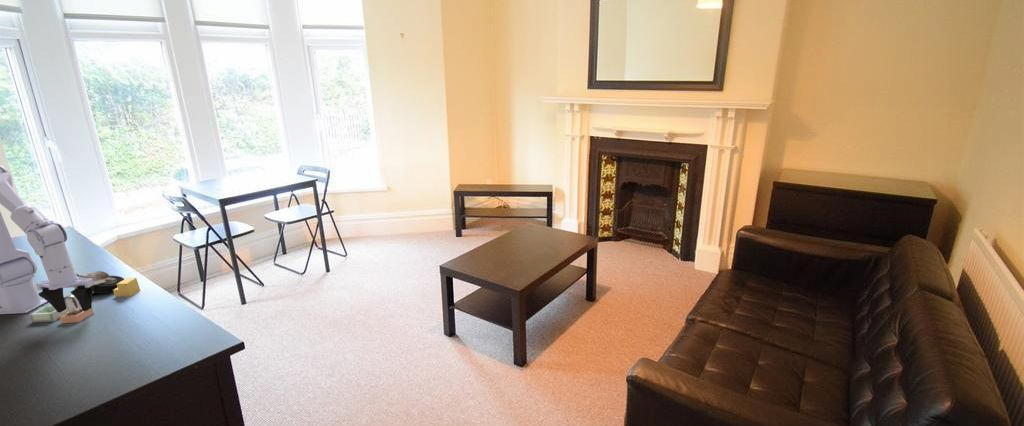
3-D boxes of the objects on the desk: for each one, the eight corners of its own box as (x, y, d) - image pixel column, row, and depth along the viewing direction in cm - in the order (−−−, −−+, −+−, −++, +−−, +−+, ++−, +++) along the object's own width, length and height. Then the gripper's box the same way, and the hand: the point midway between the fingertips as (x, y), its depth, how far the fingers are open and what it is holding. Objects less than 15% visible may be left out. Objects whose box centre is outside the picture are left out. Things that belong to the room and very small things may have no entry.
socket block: (61, 323, 135) (59, 316, 134) (77, 314, 139) (74, 308, 139) (79, 322, 134) (76, 316, 134) (93, 313, 139) (91, 307, 139)
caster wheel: (130, 293, 157) (95, 303, 148) (107, 283, 160) (72, 292, 151) (130, 275, 155) (95, 284, 146) (107, 264, 159) (71, 273, 149)
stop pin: (69, 320, 136) (61, 298, 134) (77, 316, 138) (69, 294, 136) (78, 320, 136) (70, 298, 133) (86, 315, 138) (78, 294, 136)
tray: (32, 322, 136) (29, 314, 135) (49, 312, 141) (46, 305, 140) (54, 321, 136) (51, 313, 135) (71, 311, 141) (68, 304, 140)
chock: (115, 297, 149) (110, 284, 148) (125, 291, 153) (120, 278, 152) (131, 296, 149) (126, 283, 148) (140, 290, 153) (136, 277, 152)
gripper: (18, 274, 128) (37, 318, 132) (71, 271, 128) (88, 315, 132) (43, 263, 135) (59, 306, 139) (93, 261, 135) (108, 303, 139)
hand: (75, 310), depth 136 cm, fingers open, 7 cm apart
